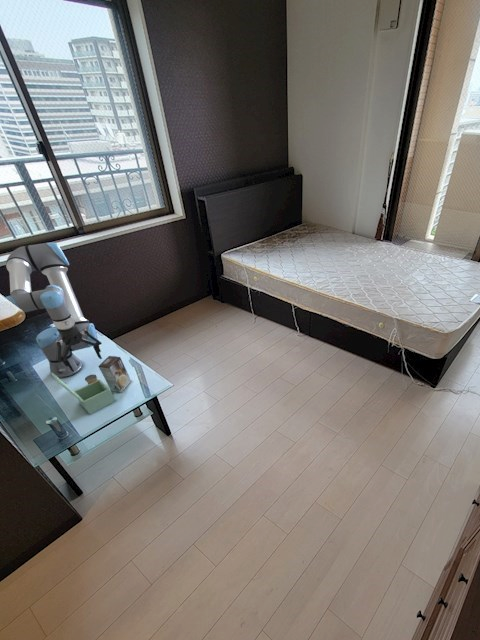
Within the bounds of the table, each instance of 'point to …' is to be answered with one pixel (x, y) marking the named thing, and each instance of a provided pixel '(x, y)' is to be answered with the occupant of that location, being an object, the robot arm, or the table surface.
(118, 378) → the coffee box
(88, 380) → the coffee pod
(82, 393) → the pale green cubby
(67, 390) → the lid
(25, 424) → the table surface
